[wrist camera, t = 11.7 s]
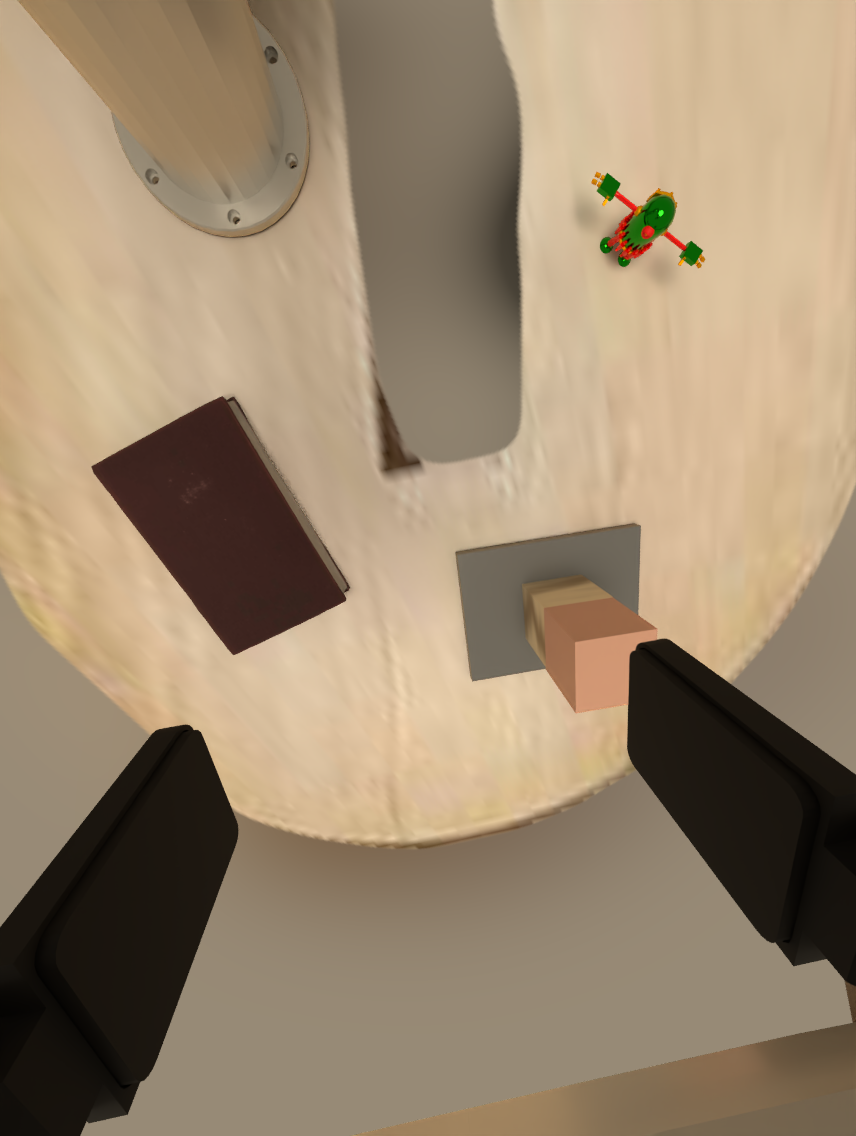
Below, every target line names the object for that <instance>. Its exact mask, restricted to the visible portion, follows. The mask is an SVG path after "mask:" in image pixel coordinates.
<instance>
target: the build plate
mask: <svg viewBox="0 0 856 1136" xmlns="http://www.w3.org/2000/svg"><path fill="white" fill-rule="evenodd" d="M640 534H641V526H640V525H637V524H629V525H623V526H617V527H611V528H604V529H598V530H592V531H585V532H579V533H573V534H567V535H560V536H554V537H548V538H542V539H535V540H529V541H523V542H516V543H510V544H504V545H498V546H491V547H485V548H479V549H472V550H466V551H460V552H456V560H457V568H458V577H459V585H460V593H461V601H462V610H463V618H464V626H465V635H466V643H467V651H468V659H469V668H470V676H471V679H472V681H477V680H483V679H489V678H494V677H500V676H506V675H512V674H517V673H523V672H529V671H535V670H540V669H546V667H545V666H544V664H543V663H542V661H541V660H540V658H539V657H538V655H537V654H536V653H535V651H534V650H533V648H532V647H531V645H530V644H529V642H528V641H527V639H526V636H525V621H524V607H523V592H522V584H526V583H532V582H538V581H544V580H550V579H556V578H562V577H568V576H574V575H583V576H584V577H586V578H587V579H588V580H590V581H591V582H593V583H594V584H596V585H597V586H598V587H600V588H601V589H603V590H604V591H606V592H607V593H608V594H610V595H611V596H613V598H614V599H616V600H617V601H619V602H620V603H621V604H623V605H624V606H626V607H627V608H629V609H630V610H631V611H633V612H634V613H636V614H637V615H638V602H639V568H640Z"/></svg>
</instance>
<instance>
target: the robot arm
mask: <svg viewBox="0 0 856 1136" xmlns="http://www.w3.org/2000/svg"><path fill="white" fill-rule="evenodd" d="M18 1H19V3H20V4H21V5H22V6H23V7H24V8H25V10H26V11H27V12H28V13H29V14H30V15H31V17H32V18H33V19H34V20H35V21H36V23H37V24H38V25H39V26H40V27H41V28H42V30H43V31H44V32H45V33H46V34H47V36H48V37H49V38H50V39H51V40H52V41H53V43H54V44H55V45H56V46H57V47H58V49H59V50H60V51H61V52H62V53H63V54H64V56H65V57H66V58H67V59H68V60H69V61H70V63H71V64H72V65H73V66H74V67H75V69H76V70H77V71H78V72H79V73H80V74H81V76H82V77H83V78H84V79H85V80H86V82H87V83H88V84H89V85H90V86H91V87H92V89H93V90H94V91H95V92H96V93H97V95H98V96H99V97H100V98H101V99H102V100H103V102H104V103H105V104H106V105H107V106H108V107H109V109H110V110H111V113H112V118H113V122H114V127H115V130H116V133H117V136H118V138H119V141H120V144H121V146H122V149H123V151H124V153H125V155H126V157H127V159H128V160H129V162H130V164H131V166H132V168H133V170H134V171H135V173H136V174H137V176H138V177H139V178H140V180H141V181H142V182H143V184H144V185H145V186H146V188H147V189H148V190H149V191H150V192H151V193H152V194H153V195H154V197H155V198H156V199H157V200H158V201H159V202H160V203H161V204H162V205H163V206H164V207H166V208H167V209H168V210H169V211H170V212H172V213H173V214H174V215H175V216H176V217H177V218H179V219H181V220H182V221H184V222H186V223H187V224H189V225H191V226H192V227H194V228H196V229H199V230H202V231H205V232H207V233H210V234H214V235H220V236H226V237H235V236H247V235H250V234H253V233H257V232H260V231H262V230H264V229H266V228H267V227H269V226H271V225H272V224H274V223H276V222H277V221H278V220H279V219H280V218H281V217H282V216H283V215H284V214H285V213H286V212H287V211H288V209H289V208H290V206H291V205H292V203H293V202H294V200H295V199H296V198H297V196H298V193H299V191H300V188H301V186H302V184H303V181H304V178H305V173H306V169H307V164H308V158H309V130H308V121H307V115H306V111H305V106H304V102H303V97H302V94H301V91H300V88H299V85H298V82H297V79H296V76H295V73H294V71H293V69H292V67H291V65H290V63H289V61H288V59H287V57H286V55H285V53H284V52H283V50H282V49H281V47H280V46H279V44H278V43H277V42H276V40H275V39H274V37H273V36H272V34H271V33H270V32H269V31H268V30H267V29H266V28H265V27H264V26H263V24H262V23H261V22H260V21H259V20H258V19H257V18H256V17H255V16H254V15H253V14H251V11H250V8H249V4H248V1H247V0H18ZM273 63H274V64H273ZM293 165H296V166H297V167H296V168H294V169H291V167H292V166H293ZM158 180H159V181H158ZM157 181H158V183H157V184H156V182H157ZM236 220H240V222H239V223H238V224H236V225H235V221H236ZM627 749H628V754H629V757H630V760H631V762H632V764H633V765H634V767H635V768H636V769H637V771H638V772H639V773H640V775H641V776H642V777H643V779H644V780H645V781H646V783H647V784H648V785H649V787H650V788H651V789H652V791H653V792H654V794H655V795H656V796H657V798H658V799H659V800H660V802H661V803H662V804H663V805H664V807H665V808H666V810H667V811H668V812H669V813H670V815H671V816H672V818H673V819H674V820H675V822H676V823H677V824H678V826H679V827H680V828H681V830H682V831H683V832H684V833H685V835H686V836H687V838H688V839H689V840H690V842H691V843H692V844H693V846H694V847H695V848H696V850H697V851H698V852H699V854H700V855H701V856H702V858H703V859H704V860H705V862H706V863H707V864H708V866H709V867H710V868H711V870H712V871H713V872H714V874H715V875H716V877H717V878H718V879H719V880H720V882H721V883H722V884H723V886H724V887H725V889H726V890H727V891H728V892H729V894H730V895H731V897H732V898H733V899H734V901H735V902H736V903H737V905H738V906H739V907H740V909H741V910H742V911H743V913H744V914H745V915H746V917H747V918H748V919H749V921H750V922H751V923H752V925H753V926H754V927H755V929H756V930H757V931H758V932H759V933H760V935H761V936H762V937H764V938H765V939H766V940H767V941H769V942H771V943H774V942H776V944H777V945H778V946H779V948H780V949H781V950H782V952H783V953H784V954H785V956H786V957H787V958H788V959H789V961H790V962H791V963H792V965H793V966H797V965H801V964H806V963H810V962H814V961H819V960H824V959H827V960H828V961H829V962H830V963H831V964H832V965H833V966H834V968H835V969H836V970H837V971H838V973H839V974H840V975H841V976H842V977H843V978H844V980H845V985H846V990H847V996H848V1001H849V1006H850V1011H851V1016H852V1021H853V1023H850V1024H845V1025H841V1026H835V1027H830V1028H825V1029H820V1030H815V1031H810V1032H805V1033H799V1034H795V1035H791V1036H786V1037H782V1038H777V1039H773V1040H768V1041H764V1042H760V1043H755V1044H750V1045H746V1046H741V1047H737V1048H732V1049H728V1050H723V1051H720V1052H715V1053H710V1054H706V1055H701V1056H697V1057H692V1058H688V1059H683V1060H679V1061H674V1062H670V1063H665V1064H661V1065H656V1066H652V1067H648V1068H643V1069H639V1070H634V1071H630V1072H625V1073H621V1074H617V1075H612V1076H608V1077H603V1078H598V1079H594V1080H590V1081H586V1082H581V1083H577V1084H573V1085H568V1086H564V1087H559V1088H555V1089H550V1090H546V1091H542V1092H538V1093H533V1094H529V1095H525V1096H520V1097H516V1098H511V1099H507V1100H503V1101H498V1102H494V1103H490V1104H485V1105H481V1106H477V1107H473V1108H468V1109H464V1110H459V1111H455V1112H451V1113H446V1114H442V1115H438V1116H433V1117H429V1118H425V1119H421V1120H416V1121H412V1122H408V1123H404V1124H399V1125H395V1126H390V1127H386V1128H382V1129H378V1130H373V1131H369V1132H364V1133H360V1134H356V1135H352V1136H856V774H854V773H853V772H851V771H850V770H849V769H847V768H846V767H844V766H843V765H842V764H840V763H839V762H837V761H836V760H835V759H833V758H832V757H831V756H829V755H828V754H827V753H825V752H824V751H822V750H821V749H820V748H818V747H817V746H815V745H814V744H813V743H811V742H810V741H809V740H807V739H806V738H804V737H803V736H802V735H800V734H799V733H798V732H796V731H795V730H793V729H792V728H791V727H789V726H788V725H786V724H785V723H784V722H782V721H781V720H780V719H778V718H777V717H775V716H774V715H773V714H771V713H770V712H768V711H767V710H766V709H764V708H763V707H762V706H760V705H759V704H757V703H756V702H755V701H753V700H752V699H751V698H749V697H748V696H746V695H745V694H744V693H742V692H741V691H740V690H738V689H737V688H735V687H734V686H732V685H731V684H730V683H728V682H727V681H726V680H724V679H723V678H722V677H720V676H719V675H717V674H716V673H715V672H713V671H712V670H711V669H709V668H708V667H706V666H705V665H704V664H702V663H701V662H699V661H698V660H697V659H695V658H694V657H693V656H691V655H690V654H688V653H687V652H686V651H684V650H683V649H682V648H680V647H679V646H677V645H676V644H675V643H673V642H672V641H670V640H668V639H658V640H653V641H647V642H642V643H639V644H637V646H636V650H635V651H632V652H631V653H630V657H629V696H628V738H627ZM237 839H238V824H237V821H236V818H235V816H234V813H233V811H232V808H231V806H230V803H229V801H228V798H227V796H226V793H225V791H224V788H223V786H222V783H221V781H220V778H219V776H218V773H217V771H216V768H215V766H214V763H213V761H212V758H211V756H210V753H209V751H208V748H207V746H206V743H205V741H204V738H203V736H202V734H201V732H200V731H199V730H193V728H192V727H191V726H190V725H180V726H174V727H169V728H163V729H159V730H156V731H155V732H154V733H153V734H152V735H151V736H150V737H149V739H148V740H147V741H146V742H145V744H144V745H143V746H142V747H141V749H140V750H139V751H138V753H137V754H136V755H135V756H134V758H133V759H132V760H131V761H130V763H129V764H128V766H127V767H126V768H125V769H124V770H123V772H122V773H121V774H120V775H119V777H118V778H117V779H116V781H115V782H114V783H113V784H112V786H111V787H110V788H109V789H108V791H107V792H106V793H105V795H104V796H103V797H102V798H101V800H100V801H99V802H98V803H97V805H96V806H95V807H94V809H93V810H92V811H91V812H90V814H89V815H88V816H87V817H86V819H85V820H84V821H83V823H82V824H81V825H80V826H79V828H78V829H77V830H76V832H75V833H74V834H73V835H72V837H71V838H70V839H69V841H68V842H67V843H66V844H65V846H64V847H63V848H62V849H61V851H60V852H59V853H58V855H57V856H56V857H55V858H54V859H53V861H52V862H51V863H50V865H49V866H48V867H47V868H46V870H45V871H44V872H43V874H42V875H41V876H40V877H39V879H38V880H37V881H36V883H35V884H34V885H33V886H32V888H31V889H30V890H29V891H28V893H27V894H26V895H25V896H24V898H23V899H22V900H21V902H20V903H19V904H18V905H17V907H16V908H15V909H14V910H13V912H12V913H11V914H10V916H9V917H8V918H7V919H6V921H5V922H4V923H3V924H2V926H1V927H0V1136H80V1135H81V1132H82V1130H83V1128H84V1126H85V1123H86V1121H87V1122H88V1123H92V1122H97V1121H101V1120H106V1119H110V1118H114V1117H119V1116H124V1115H128V1112H129V1110H130V1107H131V1104H132V1102H133V1099H134V1097H135V1094H136V1091H137V1089H138V1086H139V1083H140V1082H141V1081H144V1080H145V1079H146V1078H147V1077H148V1076H149V1074H150V1072H151V1071H152V1069H153V1067H154V1065H155V1062H156V1060H157V1058H158V1055H159V1052H160V1049H161V1047H162V1044H163V1041H164V1039H165V1036H166V1033H167V1030H168V1028H169V1025H170V1022H171V1020H172V1017H173V1014H174V1012H175V1009H176V1006H177V1003H178V1000H179V998H180V995H181V993H182V990H183V987H184V984H185V982H186V979H187V976H188V973H189V970H190V968H191V965H192V963H193V960H194V957H195V954H196V952H197V949H198V946H199V944H200V941H201V938H202V935H203V933H204V930H205V927H206V925H207V922H208V919H209V916H210V913H211V911H212V908H213V906H214V903H215V900H216V897H217V895H218V892H219V889H220V886H221V884H222V881H223V878H224V875H225V873H226V870H227V868H228V865H229V862H230V859H231V857H232V854H233V851H234V848H235V846H236V843H237Z"/></svg>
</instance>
